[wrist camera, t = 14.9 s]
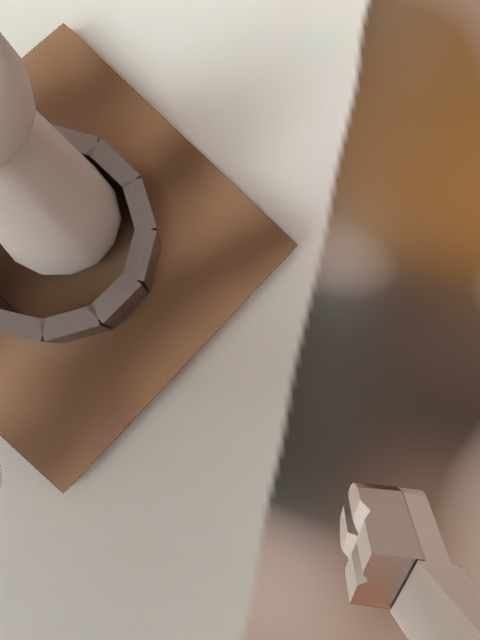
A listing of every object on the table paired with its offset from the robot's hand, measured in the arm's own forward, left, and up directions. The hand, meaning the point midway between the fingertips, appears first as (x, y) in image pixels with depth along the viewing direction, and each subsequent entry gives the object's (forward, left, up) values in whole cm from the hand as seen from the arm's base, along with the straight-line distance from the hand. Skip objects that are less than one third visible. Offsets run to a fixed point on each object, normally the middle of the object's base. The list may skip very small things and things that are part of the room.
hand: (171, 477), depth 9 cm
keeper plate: (+11, -2, -14) cm, 17 cm away
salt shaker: (+11, -3, -13) cm, 17 cm away
